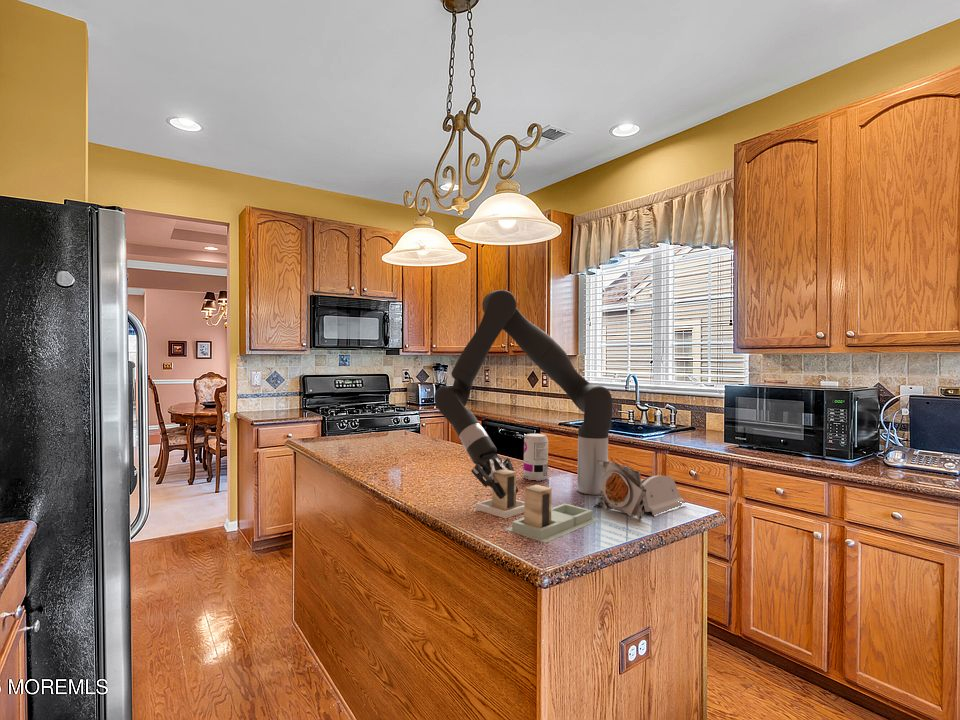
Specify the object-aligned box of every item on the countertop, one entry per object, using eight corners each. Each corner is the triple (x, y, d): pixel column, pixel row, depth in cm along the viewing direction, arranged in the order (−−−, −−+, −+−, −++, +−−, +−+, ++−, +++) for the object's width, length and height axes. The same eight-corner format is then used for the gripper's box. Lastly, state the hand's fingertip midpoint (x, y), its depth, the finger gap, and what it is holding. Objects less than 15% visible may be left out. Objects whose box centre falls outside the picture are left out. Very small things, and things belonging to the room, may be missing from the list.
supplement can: (521, 480, 170) (521, 436, 170) (526, 474, 178) (527, 432, 178) (545, 482, 168) (545, 437, 168) (549, 476, 176) (549, 433, 176)
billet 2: (535, 525, 122) (536, 484, 122) (551, 530, 118) (552, 488, 118) (524, 530, 118) (524, 487, 118) (539, 535, 115) (540, 491, 115)
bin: (502, 504, 142) (502, 495, 142) (531, 513, 134) (531, 504, 134) (475, 512, 134) (475, 503, 134) (505, 522, 127) (505, 512, 127)
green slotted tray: (560, 512, 136) (561, 501, 136) (600, 523, 127) (600, 511, 127) (504, 533, 119) (504, 520, 119) (545, 547, 111) (545, 533, 111)
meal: (591, 507, 141) (592, 460, 140) (601, 505, 143) (602, 459, 143) (636, 522, 128) (637, 471, 128) (646, 519, 131) (647, 469, 131)
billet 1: (503, 505, 138) (503, 468, 138) (516, 509, 134) (516, 471, 134) (492, 508, 134) (492, 471, 134) (505, 512, 131) (505, 474, 131)
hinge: (654, 517, 133) (643, 479, 135) (639, 518, 136) (629, 481, 139) (687, 506, 143) (676, 470, 146) (672, 507, 147) (662, 473, 149)
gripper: (466, 438, 134) (499, 492, 126) (501, 432, 145) (534, 482, 136) (452, 455, 138) (483, 508, 130) (488, 448, 148) (519, 497, 140)
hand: (509, 494), depth 133 cm, fingers closed on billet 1, 4 cm apart
